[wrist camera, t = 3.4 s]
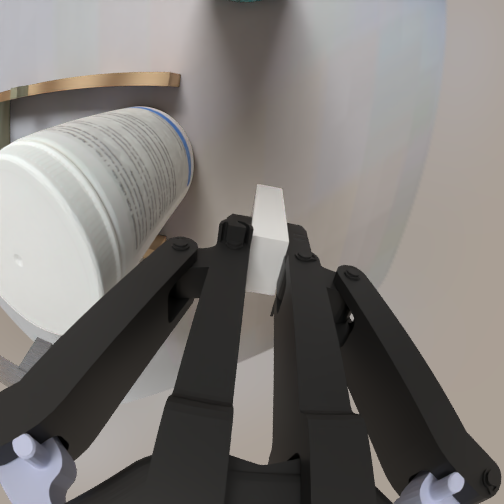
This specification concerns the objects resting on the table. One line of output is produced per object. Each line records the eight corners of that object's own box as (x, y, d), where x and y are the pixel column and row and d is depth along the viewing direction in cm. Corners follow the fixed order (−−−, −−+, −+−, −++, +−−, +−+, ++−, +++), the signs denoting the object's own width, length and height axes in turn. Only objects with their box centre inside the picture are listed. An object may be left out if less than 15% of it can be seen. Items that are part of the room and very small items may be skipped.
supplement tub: (113, 92, 18) (-39, 123, 5) (216, 129, 20) (126, 195, 7) (87, 192, 23) (-24, 287, 10) (174, 232, 24) (100, 367, 12)
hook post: (123, 242, 25) (17, 398, 10) (124, 259, 26) (30, 413, 11) (37, 225, 25) (-67, 331, 9) (40, 240, 26) (-57, 347, 10)
